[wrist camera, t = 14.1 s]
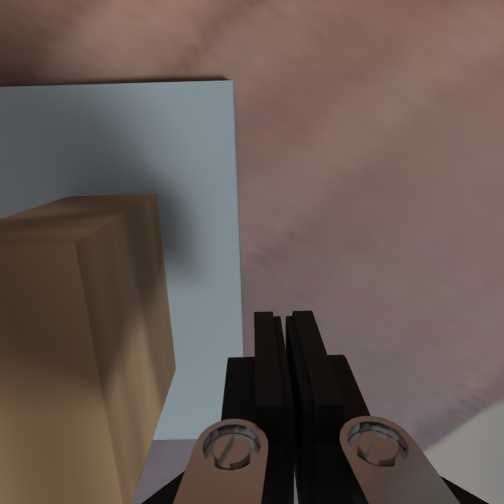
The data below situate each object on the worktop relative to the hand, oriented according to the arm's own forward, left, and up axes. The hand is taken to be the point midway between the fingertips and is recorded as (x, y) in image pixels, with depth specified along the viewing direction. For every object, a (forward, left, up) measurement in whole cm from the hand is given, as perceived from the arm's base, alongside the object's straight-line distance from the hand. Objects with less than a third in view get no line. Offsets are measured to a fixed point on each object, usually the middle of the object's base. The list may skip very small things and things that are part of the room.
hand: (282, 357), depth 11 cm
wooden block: (+6, 0, -5) cm, 8 cm away
